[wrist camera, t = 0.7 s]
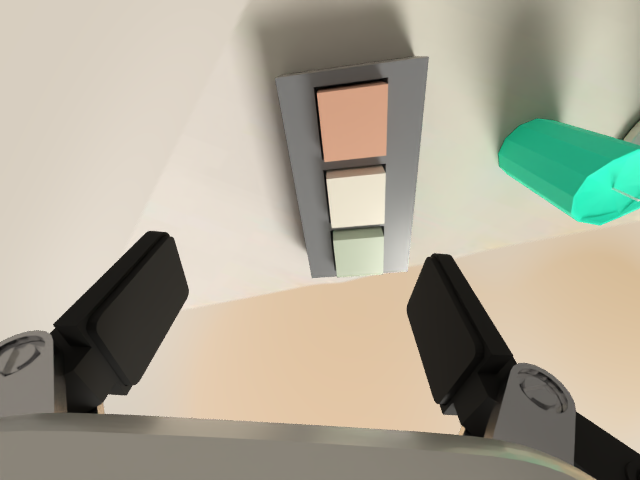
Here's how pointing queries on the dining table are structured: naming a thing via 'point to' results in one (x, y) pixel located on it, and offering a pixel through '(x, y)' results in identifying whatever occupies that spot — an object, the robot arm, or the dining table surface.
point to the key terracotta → (353, 120)
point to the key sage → (359, 251)
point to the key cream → (356, 195)
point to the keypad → (398, 163)
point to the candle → (574, 169)
